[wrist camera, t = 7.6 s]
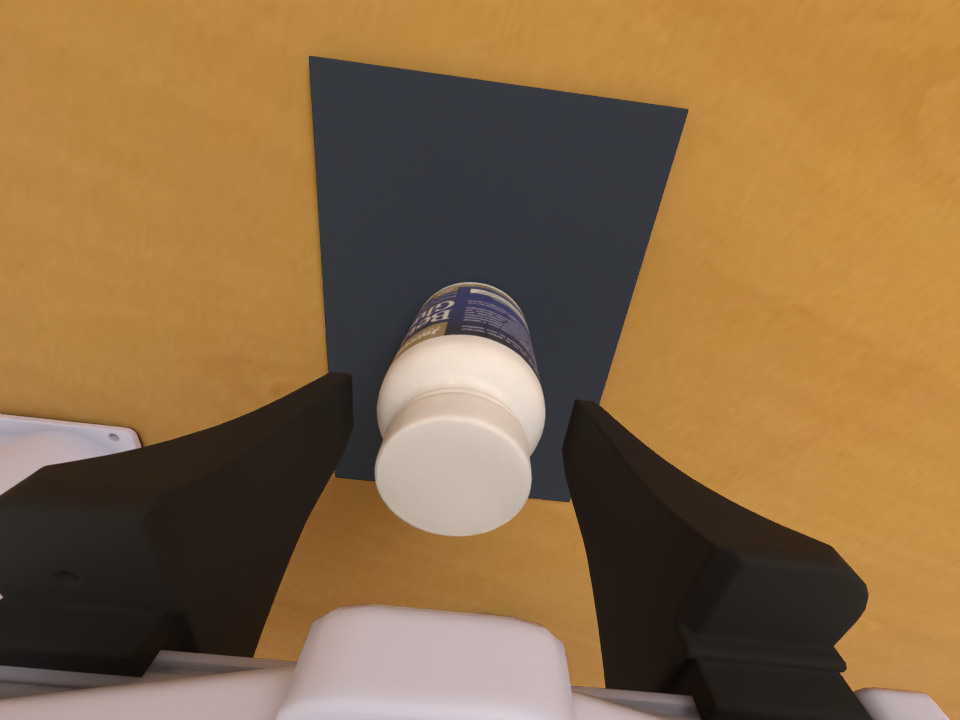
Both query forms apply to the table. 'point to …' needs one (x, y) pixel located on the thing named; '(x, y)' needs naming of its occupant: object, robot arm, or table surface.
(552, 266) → the felt mat
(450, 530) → the pill bottle
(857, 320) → the table surface
